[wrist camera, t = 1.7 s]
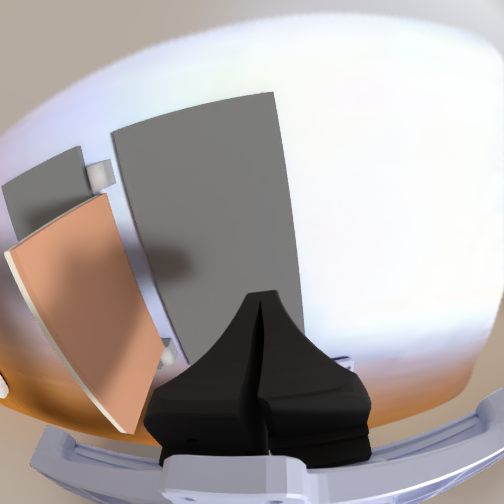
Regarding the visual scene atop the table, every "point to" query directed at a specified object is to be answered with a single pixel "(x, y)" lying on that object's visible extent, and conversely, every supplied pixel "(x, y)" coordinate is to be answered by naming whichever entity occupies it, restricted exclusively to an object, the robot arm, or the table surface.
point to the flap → (91, 307)
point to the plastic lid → (3, 388)
